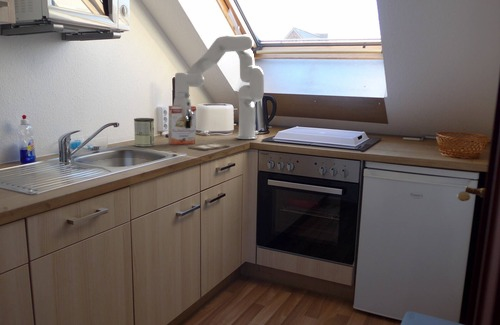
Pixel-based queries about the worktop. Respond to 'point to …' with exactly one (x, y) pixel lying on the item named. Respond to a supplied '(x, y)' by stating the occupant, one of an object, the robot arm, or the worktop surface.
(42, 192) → the worktop surface
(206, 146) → the walnut board
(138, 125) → the coffee can
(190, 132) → the cracker box
